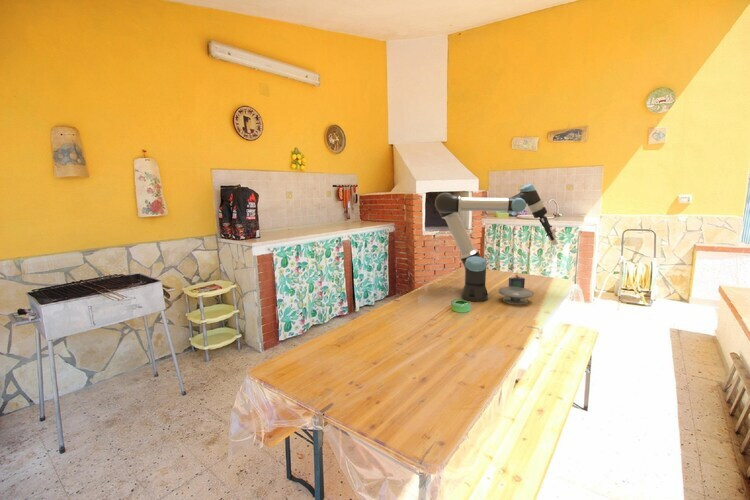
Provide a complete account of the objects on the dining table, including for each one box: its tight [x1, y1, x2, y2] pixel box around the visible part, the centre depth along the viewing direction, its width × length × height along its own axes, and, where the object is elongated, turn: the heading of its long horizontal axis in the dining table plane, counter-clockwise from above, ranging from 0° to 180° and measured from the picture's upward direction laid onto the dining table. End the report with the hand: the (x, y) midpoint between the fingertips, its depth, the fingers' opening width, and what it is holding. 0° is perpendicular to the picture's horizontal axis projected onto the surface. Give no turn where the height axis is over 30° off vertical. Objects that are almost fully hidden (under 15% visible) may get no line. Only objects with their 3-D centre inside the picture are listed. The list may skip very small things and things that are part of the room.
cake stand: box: [498, 286, 534, 306], centre depth 201 cm, size 18×18×6 cm
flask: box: [507, 274, 526, 288], centre depth 218 cm, size 9×3×11 cm, turn 79°
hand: (554, 241), depth 207 cm, fingers open, 13 cm apart
